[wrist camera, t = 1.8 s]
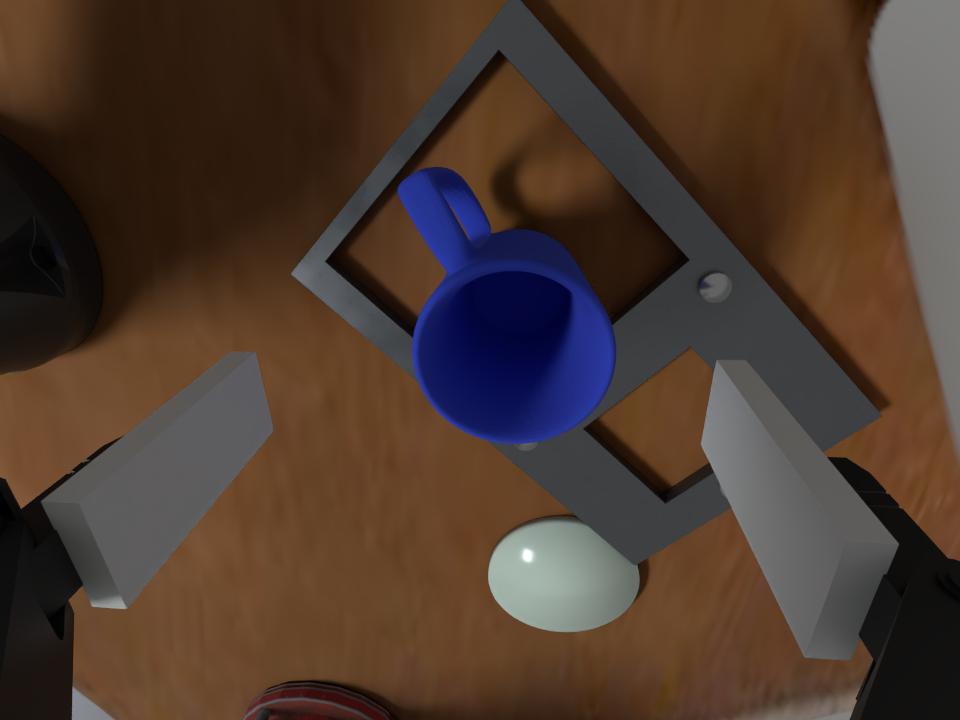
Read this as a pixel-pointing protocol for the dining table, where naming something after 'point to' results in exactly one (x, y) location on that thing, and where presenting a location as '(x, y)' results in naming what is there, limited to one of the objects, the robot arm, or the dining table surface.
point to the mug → (504, 322)
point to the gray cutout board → (637, 327)
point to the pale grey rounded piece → (561, 575)
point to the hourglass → (313, 704)
